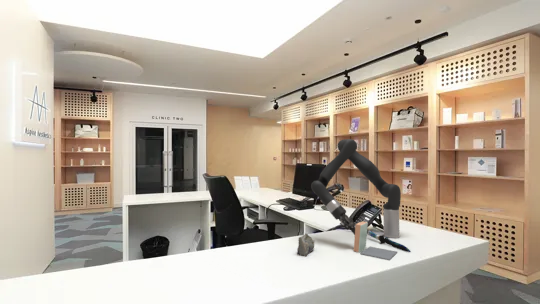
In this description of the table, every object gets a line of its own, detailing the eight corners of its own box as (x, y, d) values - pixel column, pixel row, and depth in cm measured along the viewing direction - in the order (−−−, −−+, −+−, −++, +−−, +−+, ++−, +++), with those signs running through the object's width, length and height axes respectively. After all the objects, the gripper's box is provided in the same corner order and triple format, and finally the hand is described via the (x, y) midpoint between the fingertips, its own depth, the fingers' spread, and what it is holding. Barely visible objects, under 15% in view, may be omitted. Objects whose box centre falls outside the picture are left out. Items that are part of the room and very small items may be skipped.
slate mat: (370, 247, 150) (370, 246, 150) (397, 252, 141) (397, 251, 141) (360, 254, 138) (360, 253, 138) (389, 260, 129) (389, 259, 129)
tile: (360, 246, 151) (362, 221, 151) (365, 248, 149) (367, 222, 149) (353, 250, 143) (355, 224, 143) (359, 252, 141) (361, 225, 141)
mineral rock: (311, 248, 148) (311, 229, 148) (323, 254, 138) (323, 234, 139) (291, 251, 143) (291, 231, 143) (301, 257, 133) (301, 236, 133)
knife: (365, 236, 168) (366, 229, 168) (369, 235, 169) (370, 228, 169) (406, 257, 140) (407, 248, 140) (411, 256, 141) (411, 248, 141)
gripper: (335, 206, 149) (357, 232, 140) (345, 203, 159) (366, 228, 151) (326, 215, 152) (347, 241, 143) (336, 211, 162) (357, 236, 154)
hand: (357, 234), depth 147 cm, fingers closed
